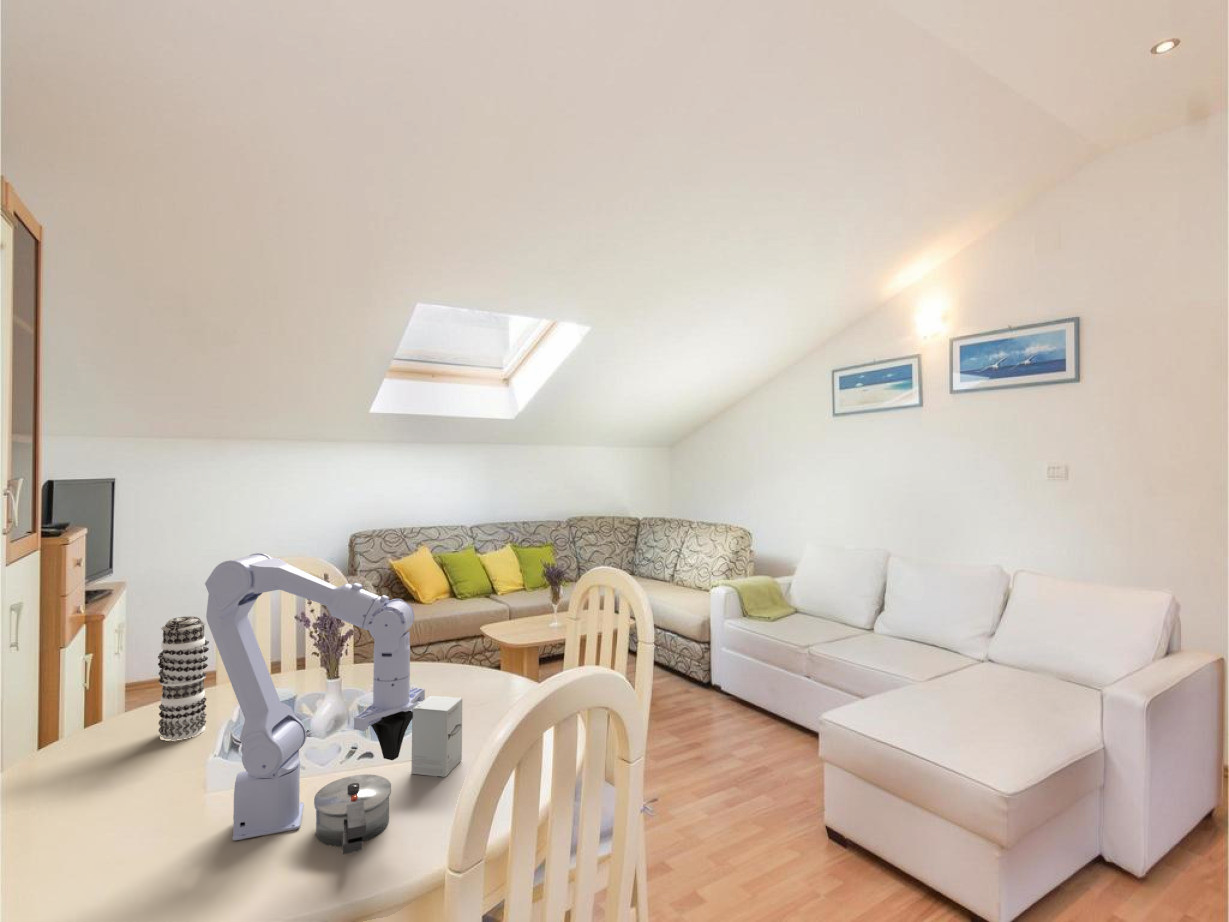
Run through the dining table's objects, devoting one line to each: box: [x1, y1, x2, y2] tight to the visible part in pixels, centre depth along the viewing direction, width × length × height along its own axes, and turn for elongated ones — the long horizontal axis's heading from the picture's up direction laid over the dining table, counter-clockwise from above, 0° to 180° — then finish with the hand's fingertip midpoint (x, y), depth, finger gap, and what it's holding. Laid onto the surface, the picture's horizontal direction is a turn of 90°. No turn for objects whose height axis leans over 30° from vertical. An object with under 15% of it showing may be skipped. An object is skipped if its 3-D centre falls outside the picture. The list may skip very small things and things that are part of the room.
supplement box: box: [410, 695, 463, 778], centre depth 124 cm, size 7×7×13 cm
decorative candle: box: [157, 615, 210, 740], centre depth 139 cm, size 9×9×25 cm
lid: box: [313, 774, 392, 840], centre depth 101 cm, size 18×12×2 cm, turn 24°
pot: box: [315, 797, 390, 855], centre depth 101 cm, size 11×18×4 cm, turn 22°
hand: (390, 757), depth 106 cm, fingers closed
